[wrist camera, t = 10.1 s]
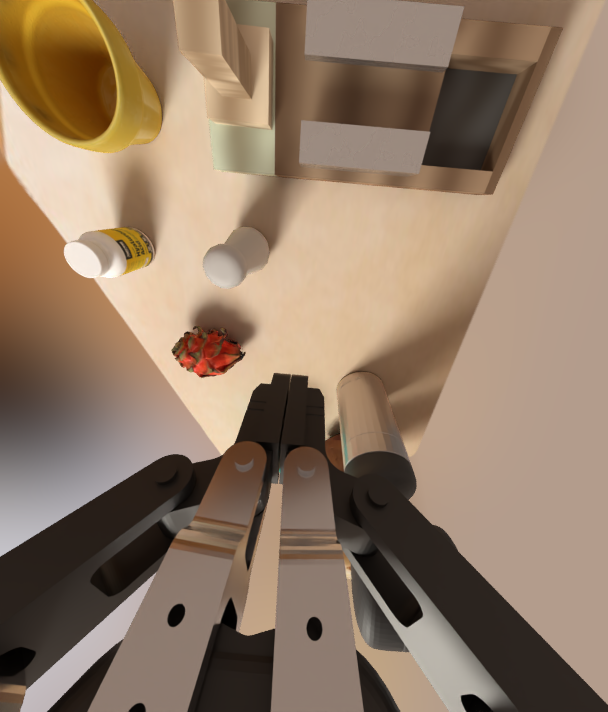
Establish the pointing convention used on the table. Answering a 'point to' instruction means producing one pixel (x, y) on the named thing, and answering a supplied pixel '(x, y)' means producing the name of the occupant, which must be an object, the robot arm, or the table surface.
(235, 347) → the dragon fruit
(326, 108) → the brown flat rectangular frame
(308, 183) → the table surface
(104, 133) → the plant pot
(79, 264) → the supplement bottle
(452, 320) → the table surface
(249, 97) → the slider block
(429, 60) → the grey slotted block
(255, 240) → the salt shaker
